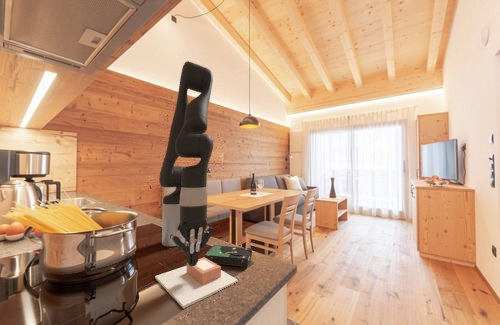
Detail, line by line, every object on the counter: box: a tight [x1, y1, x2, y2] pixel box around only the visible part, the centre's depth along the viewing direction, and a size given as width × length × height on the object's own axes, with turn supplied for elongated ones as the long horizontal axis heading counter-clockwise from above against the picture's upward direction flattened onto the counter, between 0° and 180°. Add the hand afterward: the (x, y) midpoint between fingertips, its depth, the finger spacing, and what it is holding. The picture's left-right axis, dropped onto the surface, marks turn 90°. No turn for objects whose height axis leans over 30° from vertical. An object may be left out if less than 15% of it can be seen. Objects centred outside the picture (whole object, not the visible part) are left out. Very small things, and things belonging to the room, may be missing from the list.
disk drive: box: [203, 244, 253, 267], centre depth 71 cm, size 10×3×15 cm
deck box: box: [186, 256, 222, 285], centre depth 59 cm, size 9×3×6 cm
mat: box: [154, 265, 239, 310], centre depth 57 cm, size 18×16×1 cm
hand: (192, 265), depth 57 cm, fingers closed
